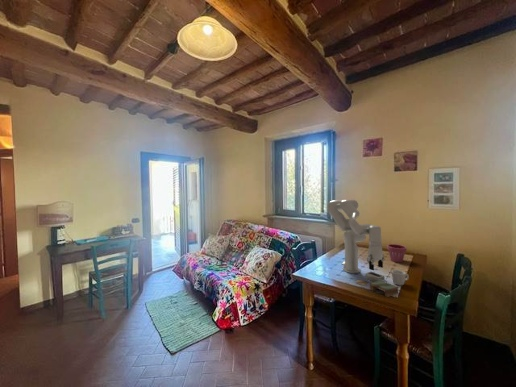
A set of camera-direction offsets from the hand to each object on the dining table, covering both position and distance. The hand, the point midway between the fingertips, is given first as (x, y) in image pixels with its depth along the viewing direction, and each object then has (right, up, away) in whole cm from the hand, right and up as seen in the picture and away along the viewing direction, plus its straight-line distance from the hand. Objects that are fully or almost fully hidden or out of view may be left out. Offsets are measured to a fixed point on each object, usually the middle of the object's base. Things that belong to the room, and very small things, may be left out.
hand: (376, 268), depth 155 cm
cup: (+15, -10, -3) cm, 18 cm away
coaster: (-10, -10, -1) cm, 14 cm away
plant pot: (+40, -7, +42) cm, 59 cm away
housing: (0, -10, +1) cm, 10 cm away
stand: (-2, -10, -14) cm, 17 cm away
